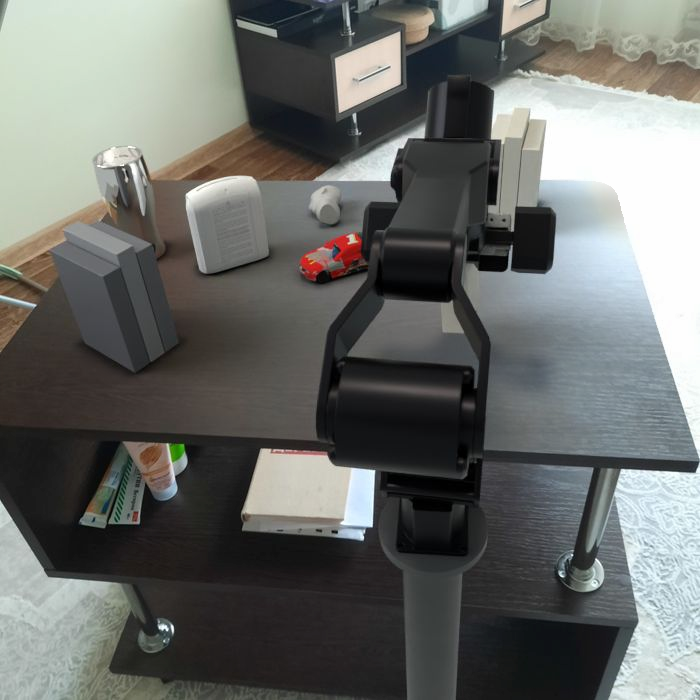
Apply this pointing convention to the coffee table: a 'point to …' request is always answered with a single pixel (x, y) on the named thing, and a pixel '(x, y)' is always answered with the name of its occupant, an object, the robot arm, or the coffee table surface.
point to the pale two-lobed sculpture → (326, 204)
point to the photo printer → (227, 223)
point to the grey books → (115, 293)
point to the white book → (472, 291)
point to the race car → (334, 259)
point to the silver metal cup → (129, 193)
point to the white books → (518, 160)
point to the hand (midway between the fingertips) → (459, 256)
